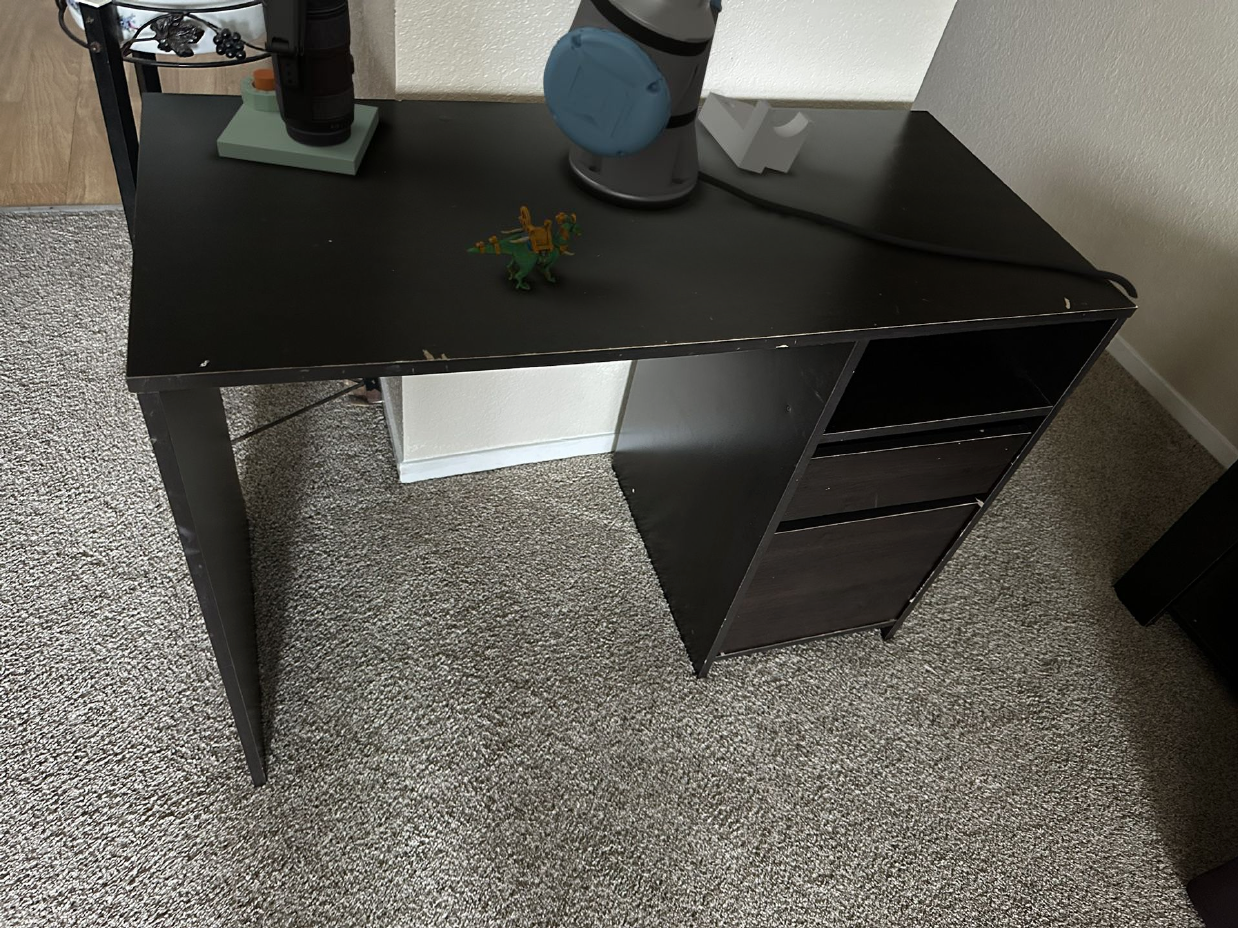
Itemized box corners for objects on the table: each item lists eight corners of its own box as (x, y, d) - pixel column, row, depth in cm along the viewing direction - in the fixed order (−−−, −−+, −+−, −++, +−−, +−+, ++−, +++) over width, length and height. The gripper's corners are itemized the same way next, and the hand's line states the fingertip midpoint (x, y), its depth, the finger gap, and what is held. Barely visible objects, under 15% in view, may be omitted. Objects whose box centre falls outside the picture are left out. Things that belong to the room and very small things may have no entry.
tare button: (282, 84, 97) (281, 71, 96) (276, 94, 96) (274, 80, 94) (258, 81, 97) (256, 67, 96) (252, 91, 95) (250, 76, 94)
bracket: (783, 179, 109) (814, 123, 104) (738, 167, 105) (769, 108, 101) (740, 130, 117) (768, 76, 112) (697, 117, 113) (724, 61, 109)
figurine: (583, 279, 86) (594, 205, 80) (472, 304, 80) (475, 226, 74) (568, 262, 87) (577, 188, 81) (458, 285, 82) (460, 208, 76)
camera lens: (296, 109, 97) (279, -38, 86) (367, 124, 97) (359, -21, 86) (266, 141, 91) (243, -13, 80) (341, 157, 91) (329, 6, 81)
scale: (379, 119, 102) (378, 90, 99) (355, 175, 92) (353, 144, 90) (253, 101, 100) (249, 70, 98) (215, 156, 91) (209, 123, 88)
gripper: (286, -188, 84) (309, 39, 99) (198, -125, 67) (243, 139, 82) (365, -174, 85) (376, 49, 100) (299, -108, 67) (324, 150, 82)
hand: (316, 90), depth 91 cm, fingers open, 13 cm apart
